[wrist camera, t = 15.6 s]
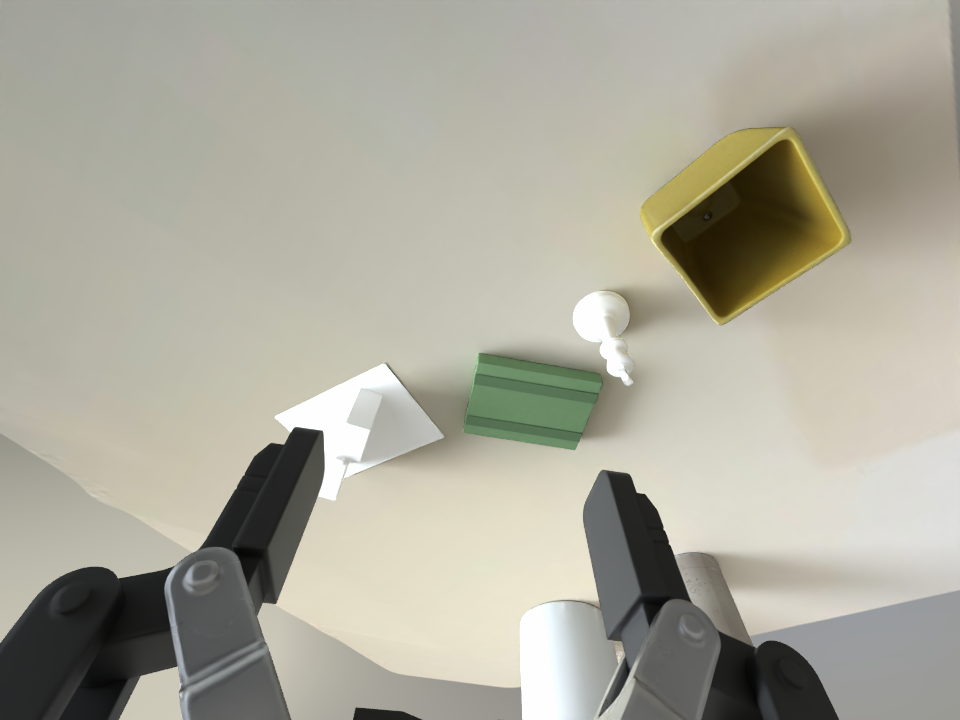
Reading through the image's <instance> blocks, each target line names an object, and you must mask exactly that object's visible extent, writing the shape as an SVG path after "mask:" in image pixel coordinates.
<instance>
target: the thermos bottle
mask: <svg viewBox="0 0 960 720" xmlns="http://www.w3.org/2000/svg"><path fill="white" fill-rule="evenodd" d="M674 557H675V559H676V562H677V565H678V567H679V570H680V573H681V575H682V578H683V581H684V584H685V586H686V589H687V592H688V594H689V597H690V599H691V601H692V603H693V604H694V605H696V606H697V607H699V608H700V609H701V610H702V611H704V612H705V613H706V614H707V616H708V617H709V618H710V619H711V621H712V622H713V624H714V625H715V627H716V629H717V630H719V631H720V632H722V633H724V634H726V635H729V636H731V637H733V638H735V639H737V640H740V641H742V642H744V643H746V644H749V645H751V646H753V644H752V642H751V640H750V637H749V635H748V633H747V630H746V628H745V626H744V623H743V621H742V619H741V616H740V614H739V612H738V609H737V607H736V605H735V602H734V600H733V598H732V595H731V593H730V591H729V588H728V586H727V584H726V581H725V579H724V577H723V574H722V572H721V570H720V568H719V565H718V563H717V562H716V560H715V559H714V558H712V557H710V556H709V555H706V554H701V553H684V554H679V555H676V556H674ZM753 647H754V646H753Z"/></svg>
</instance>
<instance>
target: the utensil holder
mask: <svg viewBox="0 0 960 720" xmlns="http://www.w3.org/2000/svg"><path fill="white" fill-rule="evenodd" d="M520 662H521V686H522V714H523V720H593V718H594V716H595V714H596V712H597V710H598V707H599V705H600V703H601V701H602V699H603V697H604V694H605V692H606V690H607V688H608V686H609V684H610V681H611V679H612V677H613V675H614V673H615V671H616V668H617V666H618V661H617V656H616V652H615V648H614V644H613V640H607V637H606V632H605V627H604V622H603V617H602V612H601V610H600V609H598V608H596V607H594V606H592V605H589V604H586V603H582V602H576V601H556V602H550V603H545V604H542V605H539V606H536V607H534V608H532V609H531V610H529V611H528V612H527V613H526V614H525V615H524V616H523V617H522V619H521V623H520Z"/></svg>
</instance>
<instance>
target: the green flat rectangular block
mask: <svg viewBox="0 0 960 720" xmlns="http://www.w3.org/2000/svg"><path fill="white" fill-rule="evenodd" d="M602 384H603V382H602V379H601V376H600V374H598V373H592V372H586V371H580V370H574V369H568V368H563V367H557V366H551V365H545V364H539V363H533V362H527V361H521V360H515V359H509V358H504V357H498V356H492V355H486V354H480V353H479V354H478V359H477V364H476V369H475V374H474V378H473V383H472V388H471V393H470V397H469V402H468V407H467V412H466V417H465V421H464V430H463V432H464V433H469V434H476V435H482V436H488V437H495V438H501V439H507V440H514V441H520V442H527V443H533V444H539V445H546V446H552V447H558V448H565V449H571V450H575V449H576V447H577V444H578V442H579V441H580V439H581V436H582V432H583V430H584V428H585V425H586V423H587V420H588V418H589V415H590V413H591V411H592V408H593V406H594V404H595V403H596V400H597V398H598V395H599V391H600V389H601V387H602Z"/></svg>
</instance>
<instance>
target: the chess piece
mask: <svg viewBox="0 0 960 720" xmlns="http://www.w3.org/2000/svg"><path fill="white" fill-rule="evenodd" d="M629 319H630V312H629V307H628V304H627V302H626V300H625V299H624V298H623V297H622V296H620V295H619V294H617V293H615V292H611V291H598V292H594V293H591V294H589V295H587V296H586V297H584V298H583V299H582V300H581V301H580V302H579V303H578V305H577V306H576V308H575V310H574V314H573V323H574V326H575V328H576V330H577V331H578V333H579V334H580V335H581V336H582V337H583V338H585V339H587V340H589V341H592V342H603V344H602V345H601V348H600V352H601V355H602V356H603V357H604V358H605V359H607V360H608V362H607V370H608V372H609V373H610V374H611V375H613V376H616V377H621V378H622V380H623V382H624V384H625V385H627V386H629V385H631V384H633V381H632V379H631V378H630V376H629V375H628V374H629V373H631V372H632V370H633V369H634V366H635V363H634V360H633V358H632V357H631V356H630V355H628V354H627V350H628V344H627V342H626V341H625V340H624V339H622V338H620V337H617V336H619V335H620V334H621V333H622V332H623V331H624V330H625V329H626V327H627V325H628V323H629Z"/></svg>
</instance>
